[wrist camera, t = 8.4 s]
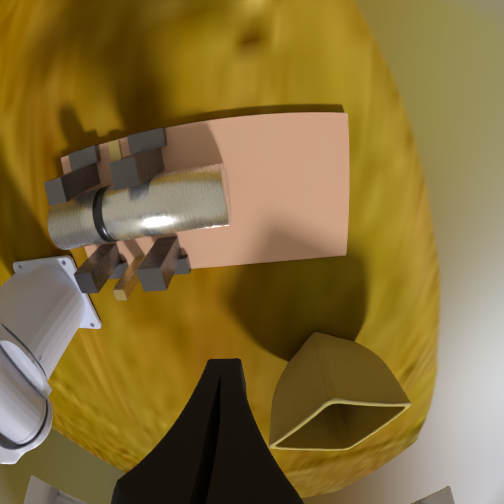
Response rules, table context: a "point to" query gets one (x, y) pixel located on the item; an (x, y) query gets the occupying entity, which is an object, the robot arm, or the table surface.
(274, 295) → the table surface
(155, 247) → the rail
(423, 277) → the table surface
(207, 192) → the tube
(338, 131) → the tile
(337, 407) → the flower pot
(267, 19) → the table surface
